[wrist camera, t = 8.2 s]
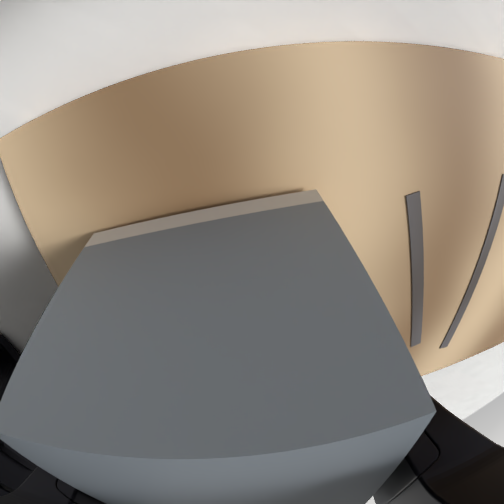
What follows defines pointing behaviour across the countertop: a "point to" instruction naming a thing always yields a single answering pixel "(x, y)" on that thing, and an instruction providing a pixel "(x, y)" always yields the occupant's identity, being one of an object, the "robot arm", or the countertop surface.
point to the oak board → (299, 167)
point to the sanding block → (218, 364)
